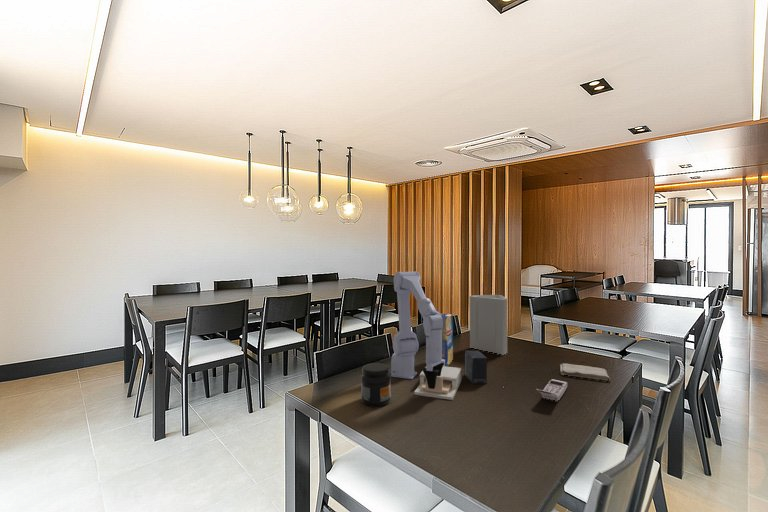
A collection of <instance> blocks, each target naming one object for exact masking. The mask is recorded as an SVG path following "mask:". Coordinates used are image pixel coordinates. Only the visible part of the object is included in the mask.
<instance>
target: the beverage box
mask: <svg viewBox="0 0 768 512" xmlns="http://www.w3.org/2000/svg"><path fill="white" fill-rule="evenodd" d="M441 314H442V315H443V317H444V319H445V327H444V329H442V359H443V360H445V363H444V365H443V366H446V367H449V365H450V364H451V363H452V362H453V361H454V353H453V352H454V319H453V318H454V316H453V315H454V314H450V313H449V314H448V313H441ZM452 360H453V361H452Z"/></svg>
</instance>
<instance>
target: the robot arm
mask: <svg viewBox="0 0 768 512" xmlns="http://www.w3.org/2000/svg"><path fill="white" fill-rule="evenodd" d="M421 281H422V278H421V275H420V273H419V271H417V270H416V271H415V270H414V271H397V272H395V274H394V276H393V289H394V292H396V297H397V311H398V312H397V314H398V329H399V330H398V331H397V332H396V333H395V335H393V342H392V349H393V352H394V353H392V355H391V360H390V369H391V370H390V376H391V378H392V377H393V378H399V379H408V380H412V379H414V377H416V376H417V374H418V372H417V371H415V356H416V355H417V353H418V351H419V347H420V345H419V344H420V343H419V340H418V337H417V336H418V335H417V334H416V333H415V332H413V330H412V322H411V305H410V303H411V302H410V293H411V294H412V295H413V297H414V298H415V300H416V301H417V303H416V307H417V309H418V312H419V314H420V315H421V317H422V319H423V320H422V326H423V330H424V335H425V364H426V366H424V367H423V368H422V371H423V372H424V374H425V376H426V379H427V384H428V388H430V389H434V388H435V385H436V378H437V376H441V371H442V367H443V365H444V363H445V360H443V359H442V329H444V327H445V319H444V317H443V315H442V314H443V313H440V312H439V311H437V309H436V308H435V306H434V304H433V302H432V300H431V299H430V298H427V296H426V295H425V292H424V290H423V288H422V285H421ZM425 367H426V368H425Z"/></svg>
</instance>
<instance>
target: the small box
mask: <svg viewBox="0 0 768 512" xmlns="http://www.w3.org/2000/svg"><path fill="white" fill-rule="evenodd" d="M487 368H488V358H487V357H486V356H485V355H484V354H483V353H482V351H479V350H464V376H465V377H466V378H467V380H468V382H470V383H471V384H472V385H474V384H475V385H476V384H478V385H479V384H482V385H483V384H484V385H485V384H487V382H488V381H487V379H488V377H487V375H488V373H487V372H488V371H487V370H488V369H487Z"/></svg>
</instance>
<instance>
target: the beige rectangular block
mask: <svg viewBox="0 0 768 512" xmlns="http://www.w3.org/2000/svg"><path fill="white" fill-rule="evenodd" d="M451 386H452V381H450V380H443V377H442V376H437V378H436V385H435V388H434V389H430V388H428V384H427V379H426V381H425V382H424V384H423V385H422V386H421V390H426V391H432V392H439V393H442V392H443V393H448V392H449V390H450V388H451Z"/></svg>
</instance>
